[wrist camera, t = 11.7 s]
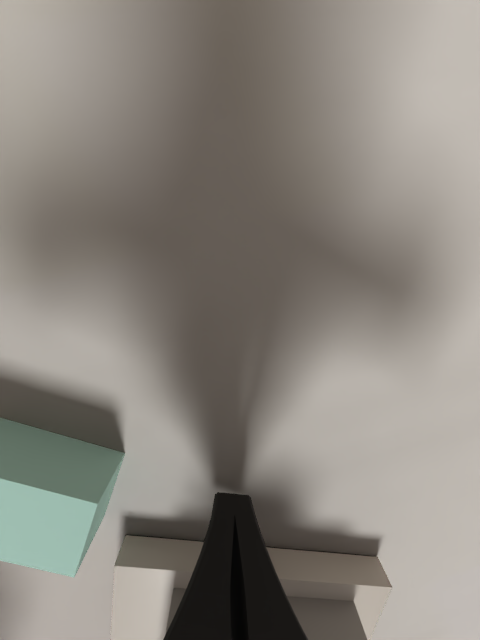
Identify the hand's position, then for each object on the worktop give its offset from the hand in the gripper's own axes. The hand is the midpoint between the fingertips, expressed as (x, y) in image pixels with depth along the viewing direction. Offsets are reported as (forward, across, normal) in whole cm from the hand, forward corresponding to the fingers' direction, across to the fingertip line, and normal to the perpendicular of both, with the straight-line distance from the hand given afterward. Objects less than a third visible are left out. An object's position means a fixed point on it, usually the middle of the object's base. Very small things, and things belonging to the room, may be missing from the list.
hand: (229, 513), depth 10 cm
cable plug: (+1, +7, 0) cm, 8 cm away
